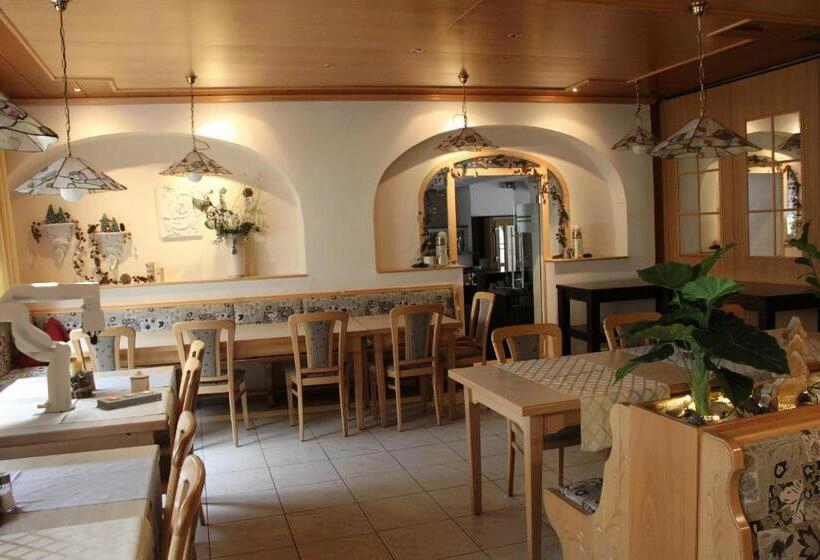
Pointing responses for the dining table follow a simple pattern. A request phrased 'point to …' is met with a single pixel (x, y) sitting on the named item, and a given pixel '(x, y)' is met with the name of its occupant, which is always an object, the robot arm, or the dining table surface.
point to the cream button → (146, 392)
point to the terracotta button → (113, 398)
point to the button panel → (128, 400)
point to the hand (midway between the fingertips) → (94, 344)
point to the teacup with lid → (139, 382)
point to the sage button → (129, 395)
